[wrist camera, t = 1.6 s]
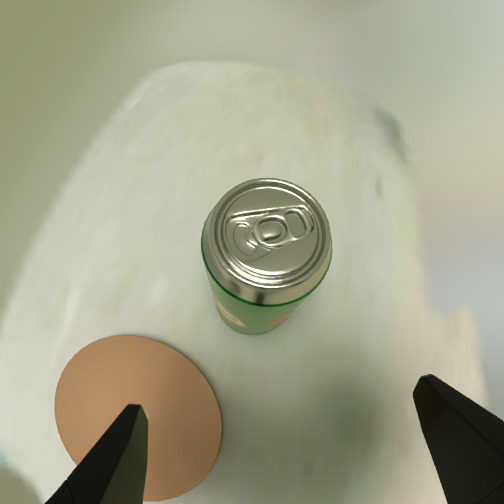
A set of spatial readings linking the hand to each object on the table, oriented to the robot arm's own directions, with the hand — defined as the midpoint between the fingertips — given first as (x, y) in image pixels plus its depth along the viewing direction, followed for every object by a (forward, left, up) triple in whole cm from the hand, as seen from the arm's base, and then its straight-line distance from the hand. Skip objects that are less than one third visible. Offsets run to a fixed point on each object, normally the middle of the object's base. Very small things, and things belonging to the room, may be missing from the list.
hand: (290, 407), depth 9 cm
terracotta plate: (+1, +9, -12) cm, 15 cm away
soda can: (+6, -2, -13) cm, 14 cm away
